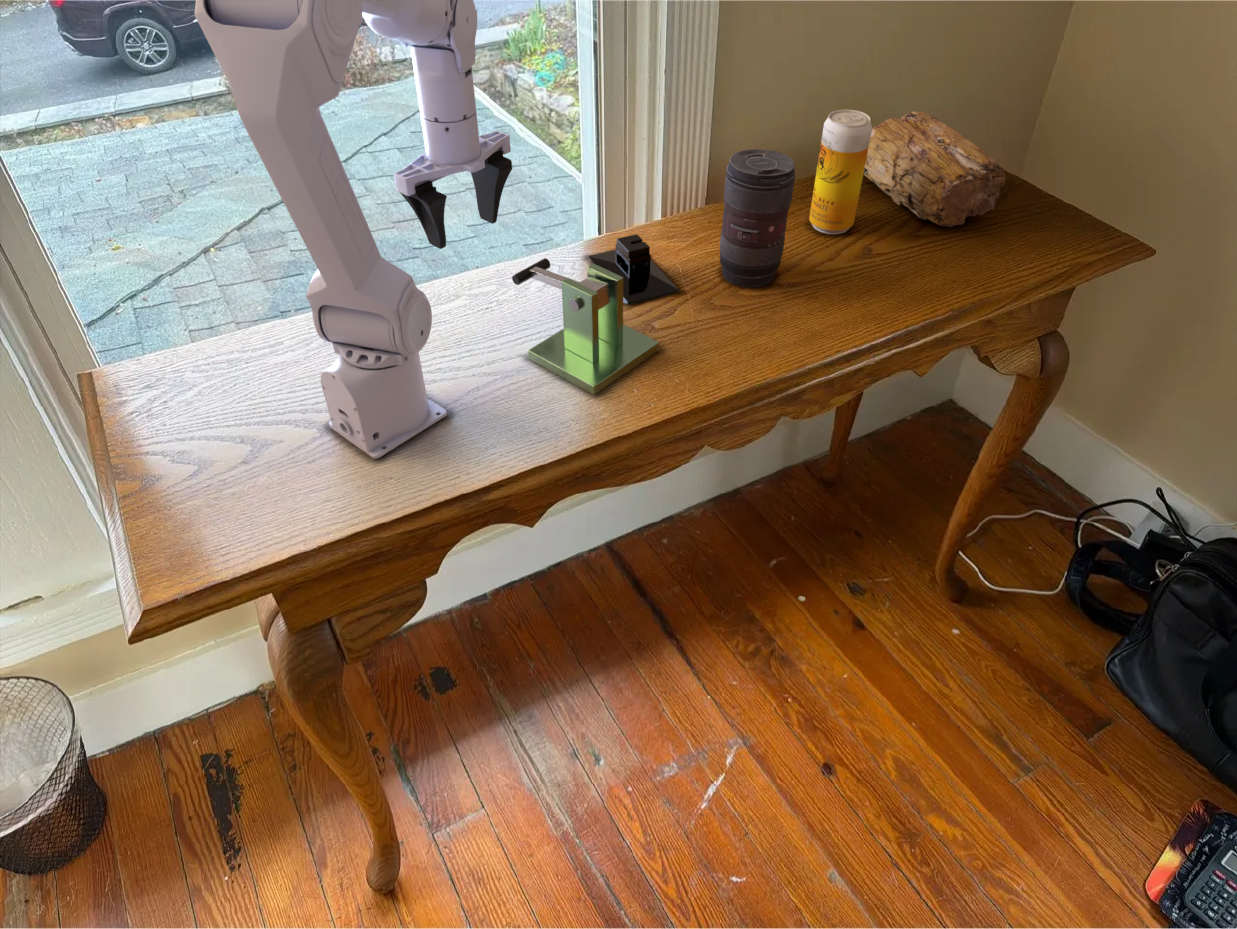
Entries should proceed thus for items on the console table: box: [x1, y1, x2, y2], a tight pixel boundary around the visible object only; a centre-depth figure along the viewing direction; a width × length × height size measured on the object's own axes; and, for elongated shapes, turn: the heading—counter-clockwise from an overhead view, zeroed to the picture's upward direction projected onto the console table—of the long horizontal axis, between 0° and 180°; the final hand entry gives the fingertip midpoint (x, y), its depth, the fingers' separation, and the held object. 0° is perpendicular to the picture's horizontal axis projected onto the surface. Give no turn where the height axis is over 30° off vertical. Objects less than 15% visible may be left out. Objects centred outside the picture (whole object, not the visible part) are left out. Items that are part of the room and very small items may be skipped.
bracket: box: [527, 263, 660, 396], centre depth 99 cm, size 10×11×10 cm
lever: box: [511, 257, 610, 310], centre depth 99 cm, size 12×5×2 cm, turn 49°
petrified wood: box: [863, 110, 1006, 228], centre depth 127 cm, size 19×13×10 cm
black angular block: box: [588, 233, 680, 306], centre depth 113 cm, size 12×7×5 cm, turn 25°
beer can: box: [808, 108, 873, 235], centre depth 120 cm, size 6×6×15 cm
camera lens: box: [719, 148, 796, 288], centre depth 110 cm, size 8×8×15 cm
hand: (463, 232), depth 102 cm, fingers open, 7 cm apart
